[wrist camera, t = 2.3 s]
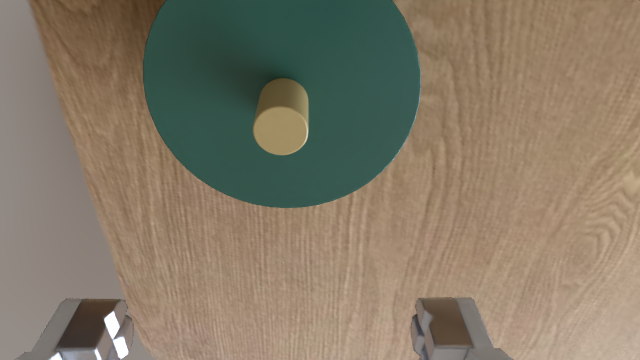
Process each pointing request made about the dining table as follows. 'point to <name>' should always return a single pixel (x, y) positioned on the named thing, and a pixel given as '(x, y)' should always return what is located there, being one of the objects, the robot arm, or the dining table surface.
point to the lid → (282, 94)
